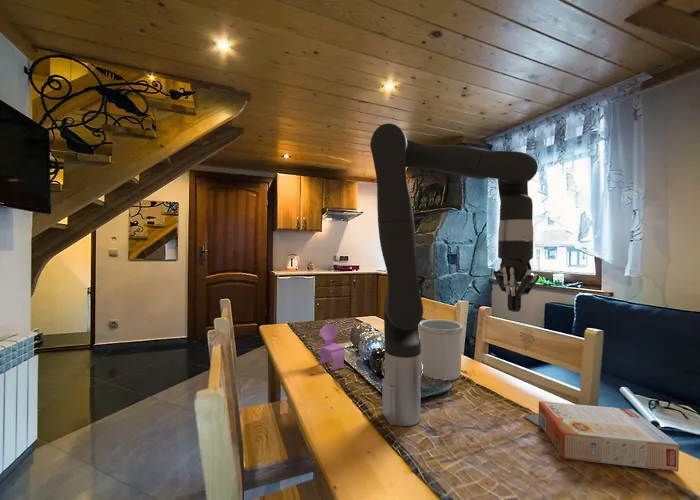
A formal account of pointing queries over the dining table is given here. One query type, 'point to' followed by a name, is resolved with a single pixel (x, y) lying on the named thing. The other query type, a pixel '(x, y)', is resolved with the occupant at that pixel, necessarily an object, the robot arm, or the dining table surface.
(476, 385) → the dining table surface
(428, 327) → the utensil holder
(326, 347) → the toy chair
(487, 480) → the dining table surface
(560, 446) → the cracker box
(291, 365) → the dining table surface
